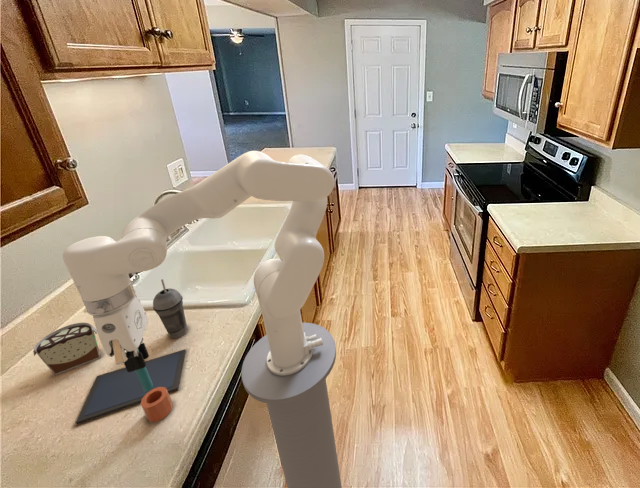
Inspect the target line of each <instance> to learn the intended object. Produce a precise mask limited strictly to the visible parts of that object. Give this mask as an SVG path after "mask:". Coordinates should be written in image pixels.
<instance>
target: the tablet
mask: <svg viewBox="0 0 640 488" xmlns="http://www.w3.org/2000/svg"><path fill="white" fill-rule="evenodd" d="M186 352H187V351H186V349H180V350H177V351H174V352H171V353H169V354H165V355H161V356H159V357H155V358H151V359H148V360H145V363H146V369H147V371H148V373H149V376H150V378H151V381H152V383H153V388H152V389H155V388H158V387H165V388H166V389H167V391H168V393H169V394H171V393H173V392H177V391H179V389H180V383H181V377H182V372H183V367H184V363H185V357H186V354H187V353H186ZM152 389H151V390H152ZM151 390H149V391H151ZM149 391H146V392H145V391H144V390H143V387H142V385H141V383H140V381H139V378H138V376H137V374H136V371H132V372H128V371H127V369H126V367H125V366H124V367H122V368H118V369H115V370H112V371H109V372H105V373H103V374H98V375H97V376H96V378H95V379H94V381H93V384H92V386H91V388H90V391H89V393H88V395H87V397H86V399H85V401H84V404H83V406H82V407H81V410H80V412H79V414H78V417H77V419H76V421H75V424H76V425H81V424H84V423H87V422H89V421H91V420H92V421H93V420H95V419H98V418H100V417H104V416H107V415H110V414H112V413H116V412H118V411H121V410H124V409H127V408H130V407H133V406H136V405H139V404H141V400H142V398H143V397H144V396H145V395H146V394H147V393H148V392H149Z"/></svg>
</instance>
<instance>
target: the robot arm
mask: <svg viewBox="0 0 640 488" xmlns="http://www.w3.org/2000/svg"><path fill="white" fill-rule="evenodd" d="M334 187H335V177H334V174H333V173H332V171H331V170H330V169H329V168H328V167H327V166H326V165H324V164H323V163H321V162H319V161H318V160H317V159H316V158H313V157H311V156H309V155H306V154H303V153H300V154H299V153H298V154H295V155H293V156H291V157H290V158H289V159H288V161H287V162H284V161H278V160H274V158H272V157H271V156H270V155H268V154H266V153H264V152H263V151H260V150H249V151H247V152H244V153H242V154H241V155H239V156H237V157H235V158H234V159H232V161H230V162H228V163H227V164H225V165H224V166H222V167H221V168H219V169H218V170H216V171H215V172H213V173H212V174H210V175H209V176H207V177H206V178H204V179H202V180H201V181H200V182H198V183H197V184H195V185H193V186H190V187H189V188H187V189H184V190H182V191H181V190H180V192H177V193H175V194H171V195H170V196H168V197H166V198H164V199H162V200H160V201H158V202H157V203H155V204H154V205H152V206H150V207H149V208H148V209H146V210H145V211H143V212H142V213H140V214H138V215H137V216H136V217H134V218H133V219H131V220H130V221H129V222H128V223H127V225H125V227H124V228H123V230H122V233H121V237H120V239H119V240H117V241H116V240H115V239H113V238H112V237H110V236H107V235H97V236H91V237H86V238H84V239H81V240H78V241H75V242H74V243H72V244H70V245H68V246H67V247H66V248H65V249H64V250H63V252H62V259H63V262H64V264H65V266H66V268H67V271H68V273H69V276H70V277H71V279H72V281H73V284H74V286H75V288H76V290H77V293H78V294H79V296H80V298H81V301H82V303H83V305H84V307H85V309H86V312H87V313H88V315H90V316H92V318H93V322H94V326H95V329H96V330H97V335H98V338H99V341H100V344H101V346H102V348H103V350H104V352H105V353H106V355H107V356H108V357H110V358H113V357H114V361H115V364H116V365H121V364H123V365H124V368H125V367H126V369H127V371H128V372H132V371H135V370H138V369H141V368H144V367H145V366H146V363H145V361H146V360H147V359H148V358H149V357H150V354H149V352H148V349H147V347H146V344H145V342H144V336H145V335H144V334H145V332H146V329H147V326H148V323H149V318H148V315H147V313H146V311H145V308H144V306H143V304H142V302H141V300H140V298H139V296H138V294H137V293H136V290H135V287H134V286H133V282H132V280H131V278H130V274H135V273H143V272H148V271H150V270H151V271H152V270H154V269H156V268H158V267H159V266H161V265H162V263H163V262H164V261H165V259H166V257H167V255H168V239H167V238H168V237H169V236H171V235H173V234H174V233H175V232H177V231H178V230H179V229H181V228H183V227H184V226H186V225H188V224H190V223H191V222H195V221H197V220H200V219H220V218H223V217H225V216H226V215H227V214H229V213H230V212H232V211H233V210H234V209H235V208H237V207H238V206H240V205H241V204H243V203H244V202H245V201H247V200H248V199H250V198H251V197H252V198H255V199H258V200H262V201H263V200H264V201H272V202H273V201H274V202H291V203H292V204H291V206H290V209H289V211H288V214H287V215H286V217H285V219H284V222H283V224H282V226H281V228H280V229H279V231H278V234H277V235H276V238H275V241H274V251H275V252H276V255H277V256H278V258H270V259H266V260H264V261H263V262H261V264H259V265H258V266H257V267H256V269H255V272H254V275H253V286H254V290H255V294H256V298H257V300H258V304H259V307H260V312H261V316H262V322H263V325H264V328H265V335H267V339H268V343H269V347H270V351H269V353H268V356H267V360H266V362H267V366H268V369H269V370H270V371H271V372H272V373H273V374H275V375H280V376H285V375H290V374H294V373H296V372H298V371H299V370H301V369H302V368H304V367H305V366H306V365H307V364H308V362H309V361H310V359H311V357H312V353H313V350H312V348H314V347H316V346H317V347H318V346H321V345H323V342H322V338H320V339H317V336H316V334H315V335H312V336H310V337H308V336H307V337H306V336H305V332H304V330H303V324H302V323H303V319H302V313H301V310H302V308H303V306H304V305H305V303H306V301H307V300H308V298H309V296H310V295H311V292H312V290H313V288H314V286H315V284H316V282H317V280H318V278H319V275H320V274H321V272H322V269H323V266H324V262H325V250H324V248H323V246H322V244H321V243H320V242H319V241H318V239H317V235H318V232H319V230H320V226H321V225H322V222H323V219H324V217H325V215H326V211H327V207H328V197H329V196H330V195H331V193H332V192H333V190H334ZM315 339H317V340H315ZM311 340H315V341H312V342H311ZM137 348H138V349H137ZM126 350H127V351H129V352H127V351H126ZM138 350H139V352H138Z"/></svg>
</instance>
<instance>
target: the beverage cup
mask: <svg viewBox="0 0 640 488" xmlns="http://www.w3.org/2000/svg"><path fill="white" fill-rule="evenodd" d="M160 281H161V285H162V290H160V291H159V292H157V293H156V295H155V296H154V298H153V300H152V309H153V310H154V312H155V313H156V315H158V317H159V319H160V321H161V323H162V325H163V327H164V328H165V330H166V332H167V333H168V335H169V337H170V338H171V339H179V338H181V337H182V336H184V335H185V334H186V333H187V332H188V326H187V319H186V315H185V310H184V306H183V305H184V304H183V303H184V301H183V299H184V298H183V295H182V294H181V292H179V291H178V290H177V289H176V288H175V289H174V288H166V284H165V281H164V279H163V278H161V279H160Z"/></svg>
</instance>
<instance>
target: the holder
mask: <svg viewBox="0 0 640 488" xmlns="http://www.w3.org/2000/svg"><path fill="white" fill-rule="evenodd" d="M140 406H141V409H142V411H143V413H144V415H145V417H146V419H147V421H148V422H150V423H157V422H160V421H161V420H164V418H166V417H168V416H169V414H171V411H172V410H173V407H174V404H173V401H172V398H171V396H170V393H168V391H167V389H166V388H165V387H158V388H155V389H152V390H151V391H149V392H148V393H147V394H146V395H145V396H144V397H143V398H142V400H141V403H140Z"/></svg>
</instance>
